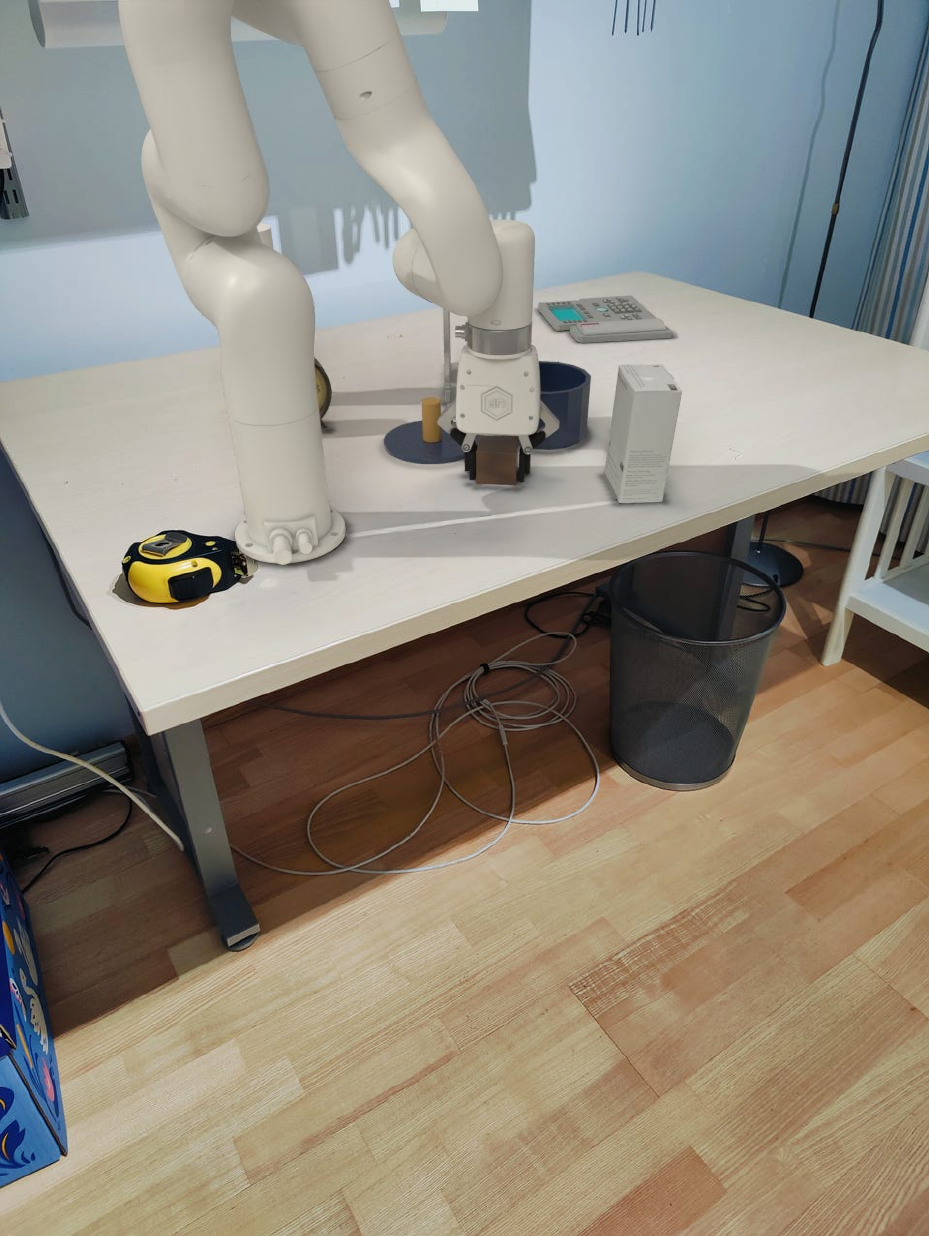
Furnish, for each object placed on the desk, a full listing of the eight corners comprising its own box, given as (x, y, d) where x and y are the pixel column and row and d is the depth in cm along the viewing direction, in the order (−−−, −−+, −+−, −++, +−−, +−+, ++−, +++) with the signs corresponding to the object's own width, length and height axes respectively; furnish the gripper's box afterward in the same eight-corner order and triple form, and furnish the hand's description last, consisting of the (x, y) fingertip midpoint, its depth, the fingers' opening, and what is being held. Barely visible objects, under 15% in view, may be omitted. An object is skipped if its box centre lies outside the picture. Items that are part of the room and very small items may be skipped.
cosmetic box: (603, 475, 112) (614, 363, 104) (648, 473, 113) (663, 361, 104) (618, 506, 106) (631, 388, 97) (667, 503, 106) (684, 386, 97)
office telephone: (675, 324, 156) (568, 331, 153) (673, 338, 158) (567, 346, 155) (632, 288, 174) (535, 294, 172) (630, 301, 176) (535, 307, 173)
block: (517, 471, 114) (518, 436, 111) (515, 489, 109) (516, 452, 107) (479, 470, 114) (479, 434, 111) (476, 487, 110) (476, 451, 107)
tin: (599, 447, 119) (604, 388, 114) (512, 457, 117) (514, 397, 112) (569, 413, 129) (572, 357, 124) (489, 422, 127) (489, 365, 122)
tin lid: (491, 461, 116) (492, 414, 112) (393, 473, 114) (390, 425, 110) (467, 423, 127) (467, 378, 123) (377, 432, 124) (373, 387, 120)
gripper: (422, 345, 99) (427, 487, 109) (573, 349, 97) (563, 493, 108) (431, 325, 105) (435, 462, 115) (573, 328, 103) (564, 467, 114)
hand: (497, 475), depth 111 cm, fingers open, 5 cm apart
